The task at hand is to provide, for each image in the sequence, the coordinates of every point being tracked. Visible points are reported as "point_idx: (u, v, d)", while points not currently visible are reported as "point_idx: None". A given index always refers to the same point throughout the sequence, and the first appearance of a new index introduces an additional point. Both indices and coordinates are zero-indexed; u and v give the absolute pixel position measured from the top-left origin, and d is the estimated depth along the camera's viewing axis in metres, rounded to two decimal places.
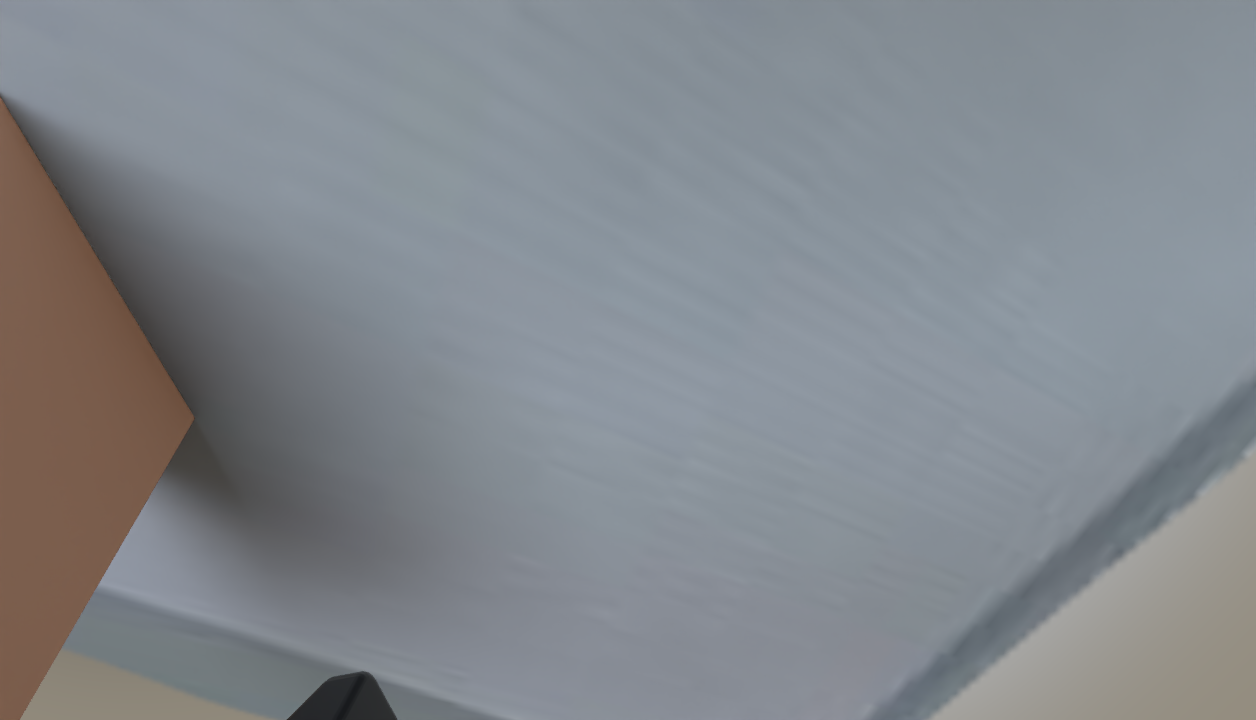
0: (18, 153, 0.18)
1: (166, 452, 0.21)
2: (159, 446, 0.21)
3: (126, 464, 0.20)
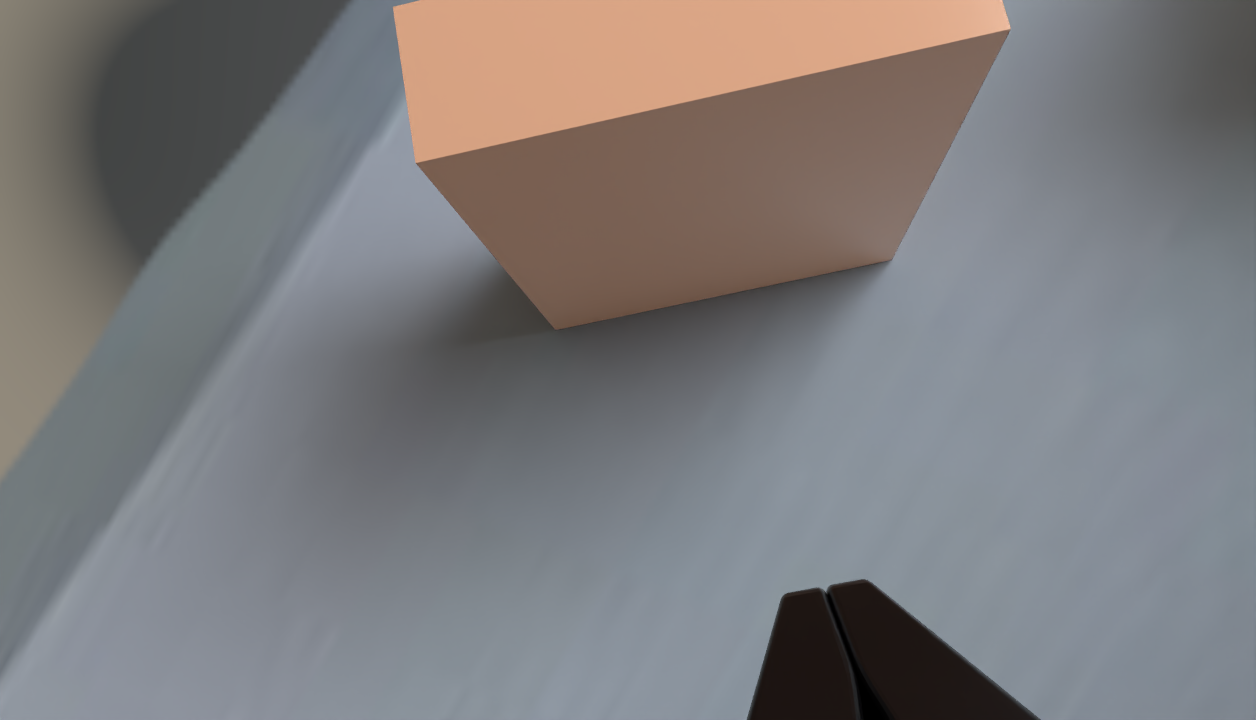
0: (845, 264, 0.22)
1: (551, 313, 0.21)
2: (561, 309, 0.21)
3: (573, 291, 0.20)
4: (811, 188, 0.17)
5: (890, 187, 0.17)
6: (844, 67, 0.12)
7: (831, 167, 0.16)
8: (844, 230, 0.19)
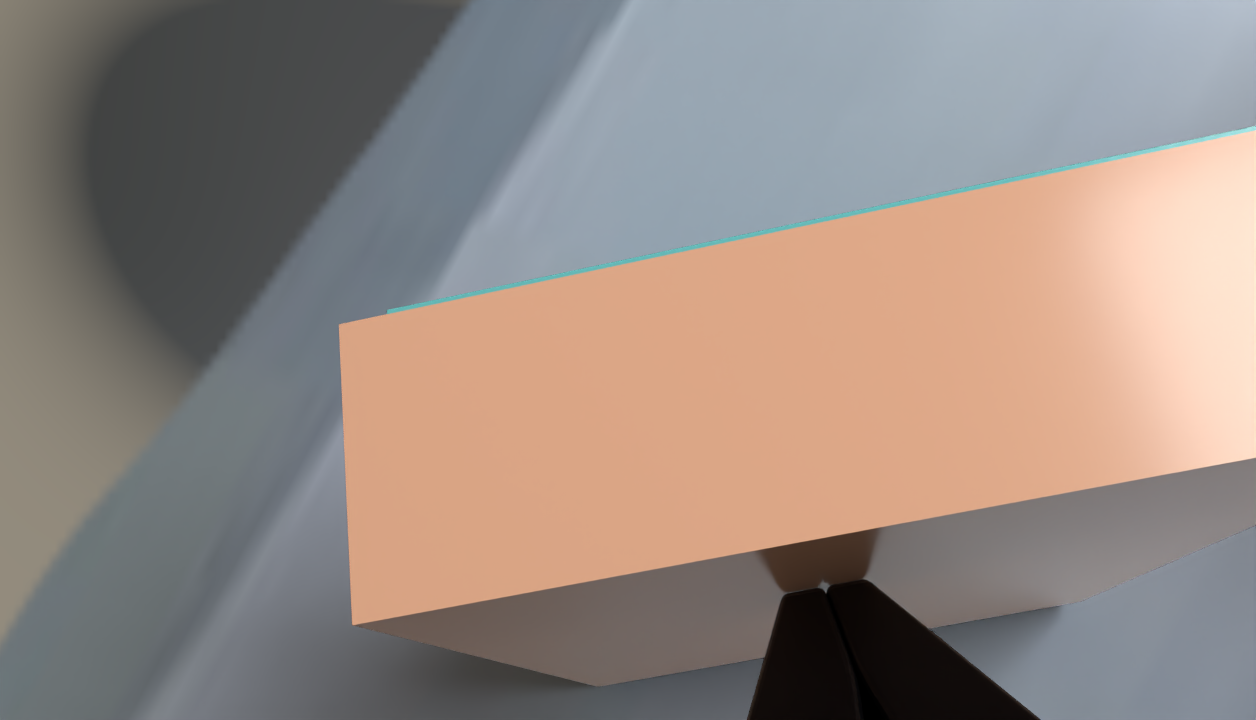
0: (1016, 610, 0.15)
1: (593, 680, 0.15)
2: (608, 677, 0.15)
3: (627, 667, 0.13)
4: (1019, 572, 0.10)
5: (1136, 559, 0.11)
6: (1185, 472, 0.06)
7: (1065, 554, 0.10)
8: (1037, 592, 0.13)
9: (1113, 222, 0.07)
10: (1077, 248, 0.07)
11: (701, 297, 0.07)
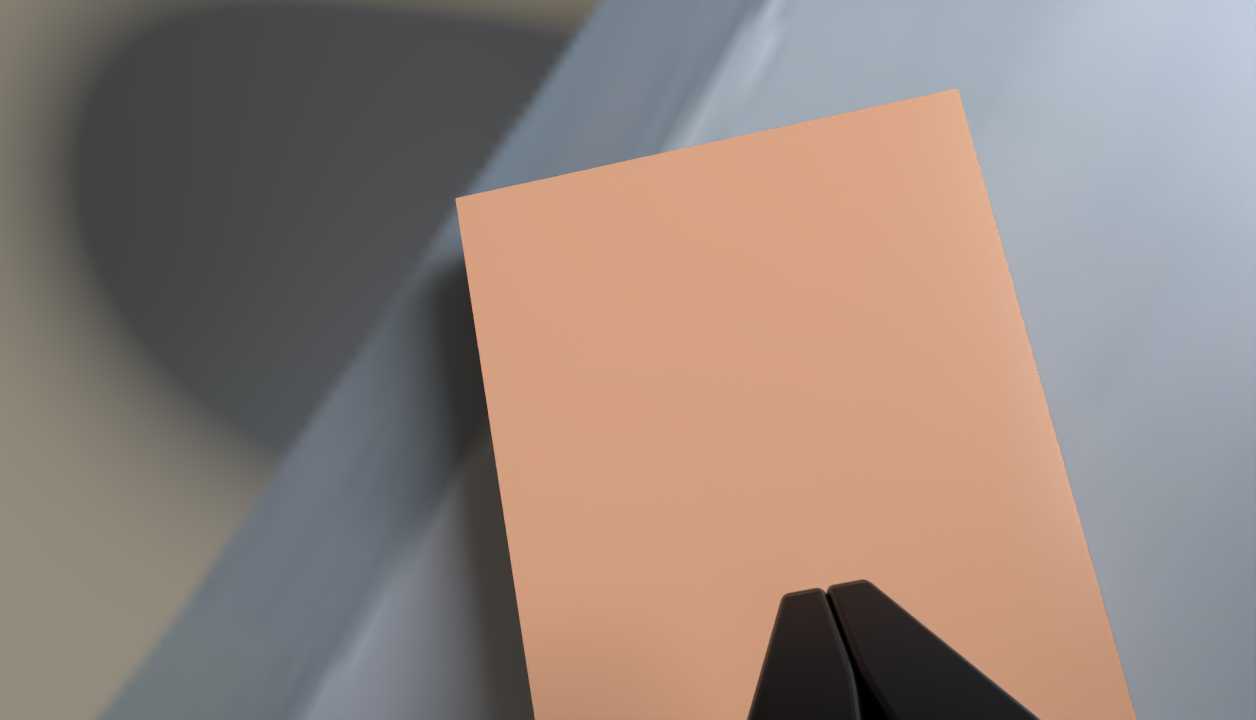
0: None
1: None
2: None
3: (589, 651, 0.14)
4: (873, 384, 0.14)
5: (992, 418, 0.14)
6: (818, 119, 0.15)
7: (880, 328, 0.14)
8: (984, 566, 0.13)
9: None
10: None
11: None
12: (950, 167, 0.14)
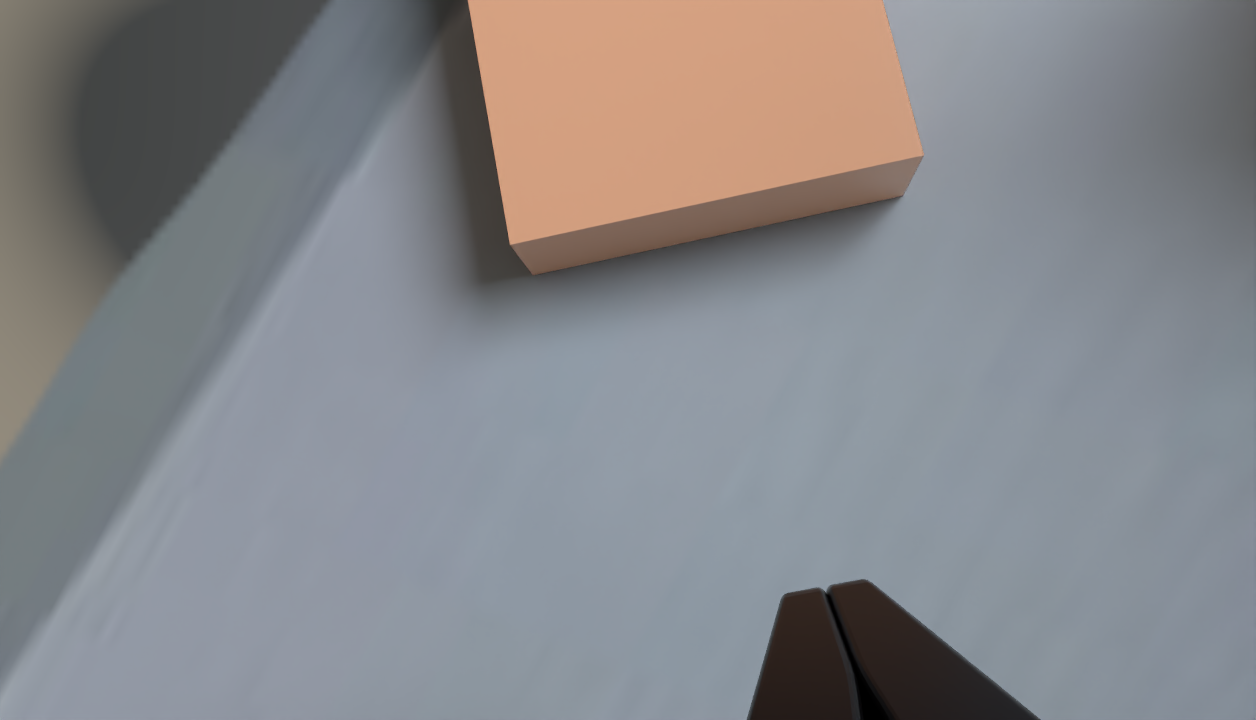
0: (858, 147, 0.18)
1: (507, 169, 0.19)
2: (519, 162, 0.19)
3: (532, 102, 0.19)
4: None
5: None
6: None
7: None
8: (813, 30, 0.19)
9: None
10: None
11: None
12: None
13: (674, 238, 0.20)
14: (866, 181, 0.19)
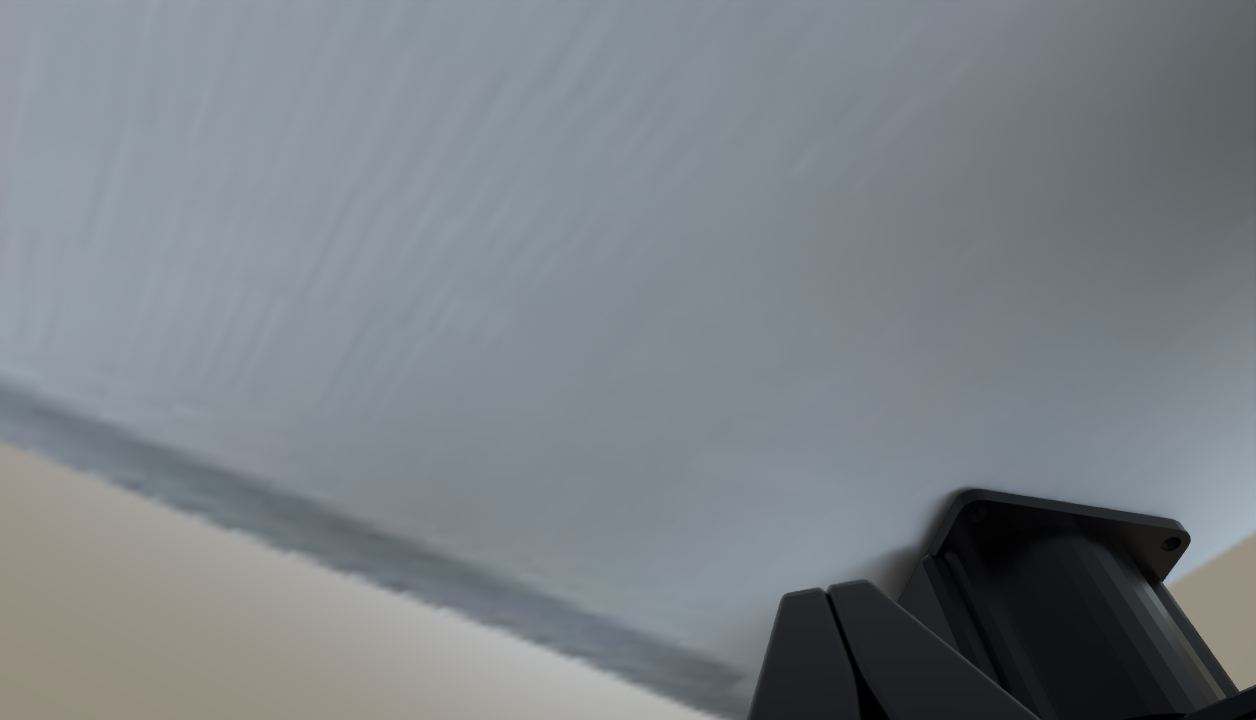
0: None
1: None
2: None
3: None
4: None
5: None
6: None
7: None
8: None
9: None
10: None
11: None
12: None
13: None
14: None
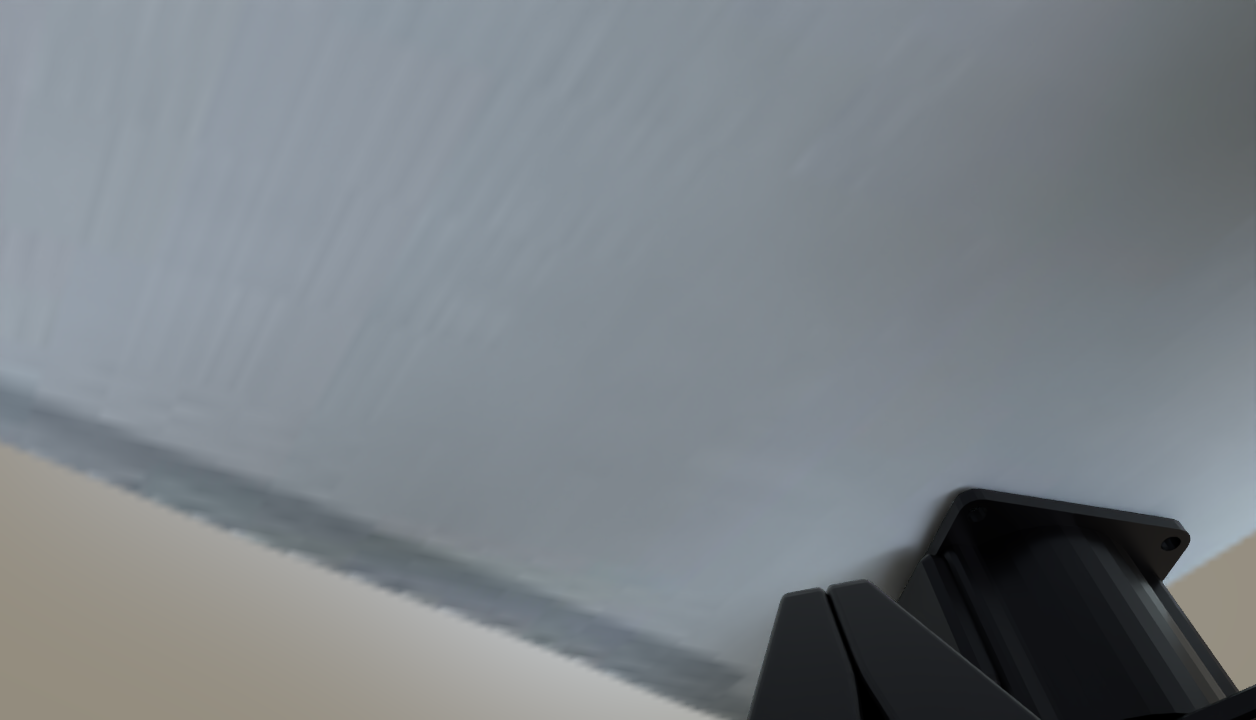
0: None
1: None
2: None
3: None
4: None
5: None
6: None
7: None
8: None
9: None
10: None
11: None
12: None
13: None
14: None
